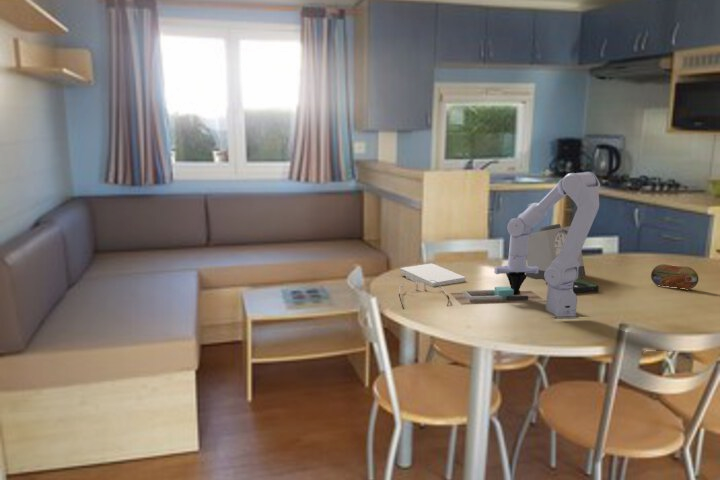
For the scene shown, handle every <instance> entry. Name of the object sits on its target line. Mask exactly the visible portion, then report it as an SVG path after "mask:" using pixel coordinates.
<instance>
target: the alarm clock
mask: <svg viewBox="0 0 720 480" xmlns="http://www.w3.org/2000/svg"><path fill="white" fill-rule="evenodd" d="M570 226H571V225H569V226H563V227H562V226H561V224H560V223H557V224H551V225H550V224H549V225H545V226H542V227H539V230H540V231H536V232H532V233H531V234H530V235H529V239H528V248H527V259H526V264H527V266H536V267H538V268H539V271H538V273H525V275H526V278H530V279H534V280H543V281H545V278H544V273H545V270H546V269H547V268H548V267H549V266H550V265H551V263H552V261H553V260H554V259H555V258H556V257H557V256H558V255H559V253H560V251H561V248H562V246H563V243H564V241H565V238H566V236H567V233H568V231H569V228H570ZM577 260H578V262H579V263H580V265H579V268H578V278H577V279H581V278H582V277H586V270H585V265H584V257H583V252H582V250H581V252H580V254H579V256H578V259H577Z"/></svg>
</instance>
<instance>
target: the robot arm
mask: <svg viewBox="0 0 720 480" xmlns="http://www.w3.org/2000/svg"><path fill="white" fill-rule="evenodd" d="M600 186H601V182H600V181H599V178H598V177H597V176H596V174H594V173H593V172H591V171H583V172H576V173H575V172H570V173H567V174H566V175H565V176H564V177H563V178H561V179H559V181H558V182H557V184H556V185H555V186H554V187H552V188H551V190H550V191H549V192H548V193H547V194H546V195H545V196H544V197H543V198H542V199H541V200H540V201H539V202H533V203H529V204H527V205H526V206H527V208H526V209H525V210H524V211H522V213H519V214H518V215H517V218H511V219H510V220H509V222H508V223H507V227H506V228H507V229H506V230H507V232H508V234H509V235H510V236H509V246H508V249H509V250H508V260H507V265H504V266H503V265H502V266H495V267H494V271H493V272H494V273H495V274H496V275H501V274H504V275H505V274H506V277H507V280H508V282H509V287H510V288H512V289H513V290H514V295H518V292H519V290H520V289H521V286H522V284H523V283H524V281H525V280H526V279H527V277H526V273H538V271H539V268H538V267H536V266H528V265H527V248H528V239H529V235H530V234H531V233H533V230H534V227H536V226H537V225H538V224H539V223H541V222H542V221H543V219H545V218H546V217H547V216H548V213H547V211H548V210H550V208H552V207H553V206H555V205H556V204H558V202H559V201H561V200H562V199H563V198H564V197H566V196H568V197H569V198H570V199H571V200H572V201H573V202H574V203H575V205H576V208H577V209H576V212H575V214H574V216H573V219H572V221H571V223H570V225H569V226H570V228H569V231H568V233H567V236H566V238H565V241H564V243H563V246H562V248H561V251H560V253H559V255H558V256H557V257H556V258H555V259H554V260H553V261H552V263H551V265H550V266H549V267H548V268H547V269H546V270H545V273H544V278H545V280H544V281H545V283H546V282H547V284H546V285H547V291H546V300H545V301H546V302H545V310H546V311H547V312H549V313H551V314H553V315H554V316H556V317H554V316H553V317H552V319H554V320H562V319H563V320H564V319H567V320H568V319H579V316H577V315H576V314H577V308H578V307H577V305H578V295H577V294H575V293H574V292H573V283H574V281H575V280H576V279H579V278H578V268H579V265H580V263H579V262H578V260H577V259H578V256H579V254H580V252H581V251H582V249H583V246H585V245H584V244H585V243H586V240H587V236H588V234H590V233H589V232H590V230H591V228H592V225H593V223H594V220H595V219H596V216H597V214H598V211H599V208H600V197H599V196H600V194H599V190H600Z"/></svg>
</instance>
